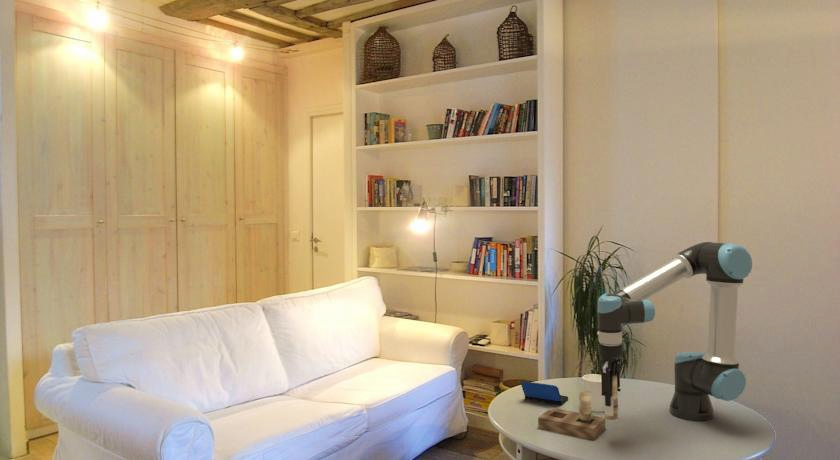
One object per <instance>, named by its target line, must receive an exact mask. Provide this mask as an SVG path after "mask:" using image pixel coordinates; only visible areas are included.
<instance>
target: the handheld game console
mask: <svg viewBox="0 0 840 460" xmlns="http://www.w3.org/2000/svg"><path fill="white" fill-rule="evenodd" d="M520 386H521V388H522V391H523V395H524V400H525V401H532V402H538V403H545V404H548V405H549V404H550V405H555V406H562V405H563V404H565V403H566V402H567V401H568V400H569V396H567V395H561V393H560V390H559V387H558V386H557V385H555V384H554V385H552V384H547V383H546V384H545V383H539V382H531V381H526V380H525V381H524V380H522V381H521V382H520Z"/></svg>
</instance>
